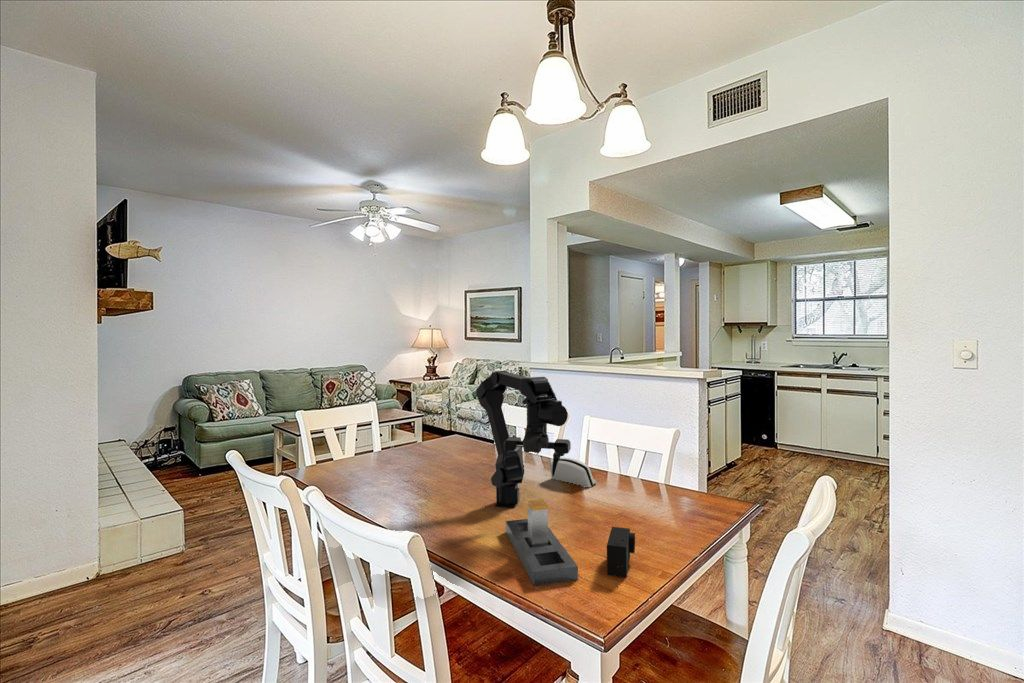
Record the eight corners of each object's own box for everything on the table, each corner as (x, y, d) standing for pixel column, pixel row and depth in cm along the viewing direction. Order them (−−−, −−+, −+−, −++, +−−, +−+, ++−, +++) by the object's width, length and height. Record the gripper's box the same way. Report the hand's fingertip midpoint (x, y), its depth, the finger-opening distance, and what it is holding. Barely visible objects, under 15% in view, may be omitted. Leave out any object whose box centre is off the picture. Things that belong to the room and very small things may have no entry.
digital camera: (632, 579, 104) (631, 547, 103) (607, 575, 105) (606, 544, 105) (635, 557, 113) (635, 528, 113) (612, 554, 115) (612, 526, 115)
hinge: (597, 484, 167) (592, 460, 164) (590, 492, 163) (584, 467, 161) (559, 475, 178) (553, 452, 175) (552, 482, 175) (546, 459, 172)
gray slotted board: (505, 532, 129) (505, 521, 128) (541, 528, 131) (540, 517, 131) (534, 586, 101) (533, 572, 101) (578, 579, 104) (577, 566, 103)
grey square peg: (528, 550, 118) (527, 500, 117) (543, 548, 118) (542, 499, 118) (532, 558, 114) (531, 506, 113) (548, 556, 115) (547, 505, 114)
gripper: (497, 425, 131) (498, 481, 131) (564, 427, 126) (565, 485, 126) (508, 417, 142) (509, 469, 142) (570, 419, 137) (571, 473, 137)
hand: (537, 474), depth 137 cm, fingers open, 9 cm apart
